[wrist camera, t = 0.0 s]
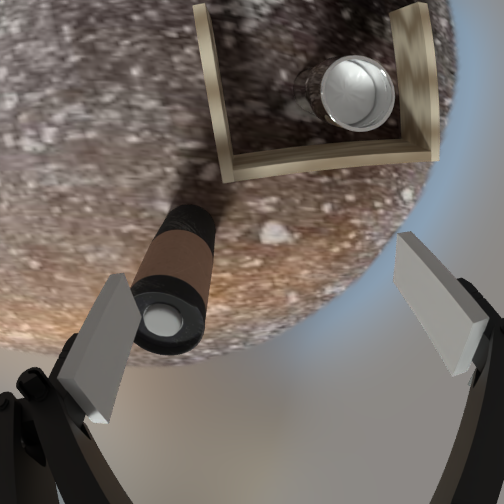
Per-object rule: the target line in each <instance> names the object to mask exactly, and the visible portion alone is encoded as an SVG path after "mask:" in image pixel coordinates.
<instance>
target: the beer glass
mask: <svg viewBox="0 0 504 504" xmlns="http://www.w3.org/2000/svg"><path fill="white" fill-rule="evenodd" d="M293 94H294V97H295V100H296V102H297V103H298V105H299V106H300V107H301V108H303V109H304V110H305V111H307V112H309V113H313V114H315V115H316V116H317V117H318V118H319V119H321V120H322V121H324V122H326V123H328V124H330V125H332V126H335V127H338V128H342V129H347V130H351V131H356V132H365V131H370V130H373V129H375V128H377V127H379V126H380V125H382V124H383V123H384V122H385V121H386V120H387V119H388V117H389V116H390V114H391V112H392V110H393V107H394V102H395V91H394V86H393V83H392V80H391V78H390V76H389V74H388V73H387V72H386V70H385V69H384V68H383V67H382V66H381V65H380V64H378V63H377V62H376V61H374V60H372V59H370V58H368V57H364V56H359V55H350V56H338V57H333V58H329V59H327V60H324V61H322V62H320V63H319V64H317V65H316V66H315V67H314V68H309V69H306V70H304V71H303V72H301V73H300V74H299V75H298V76H297V78H296V80H295V82H294V86H293Z"/></svg>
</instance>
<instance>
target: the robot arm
mask: <svg viewBox="0 0 504 504" xmlns="http://www.w3.org/2000/svg"><path fill="white" fill-rule="evenodd" d="M393 282H394V284H395V285H396V287H397V288H398V289H399V291H400V293H401V294H402V296H403V297H404V299H405V300H406V302H407V303H408V305H409V306H410V308H411V309H412V311H413V312H414V314H415V315H416V317H417V319H418V320H419V321H420V324H421V325H422V327H423V328H424V330H425V332H426V333H427V335H428V336H429V338H430V340H431V341H432V343H433V345H434V346H435V348H436V350H437V351H438V353H439V355H440V357H441V358H442V360H443V362H444V363H445V365H446V367H447V369H448V371H449V372H450V374H451V376H452V377H453V376H455V375H458V374H461V373H464V372H466V371H467V370H468V369H469V366H470V364H471V362H472V361H473V363H474V364H475V366H476V369H475V371H474V373H473V375H472V377H471V379H470V381H469V383H468V385H469V386H470V384H471V387H470V391H469V395H468V399H467V403H466V407H465V410H464V414H463V417H462V420H461V424H460V427H459V430H458V433H457V436H456V439H455V442H454V445H453V448H452V451H451V454H450V457H449V459H448V462H447V464H446V467H445V470H444V472H443V475H442V477H441V480H440V482H439V484H438V486H437V489H436V491H435V493H434V495H433V498H432V500H431V502H430V504H496V503H497V500H498V497H499V494H500V491H501V488H502V484H503V481H504V318H501V317H500V316H499V314H498V313H497V312H496V311H495V310H494V308H493V307H492V306H491V305H490V304H489V303H488V301H487V300H486V299H485V298H483V296H482V295H481V293H479V292H478V290H477V289H476V288H475V287H474V286H473V285H472V283H470V282H468V281H467V280H465V279H463V278H459V279H456V278H455V277H454V276H453V275H452V274H451V273H450V271H449V270H448V269H447V268H446V267H445V266H444V265H443V264H442V263H441V262H440V261H439V260H438V259H437V258H436V256H435V255H434V254H433V253H432V252H431V251H430V250H429V249H428V248H427V247H426V246H425V245H424V244H423V243H422V242H421V241H420V240H419V239H418V238H417V237H416V236H415V235H414V234H413V233H412V232H411V231H410V232H403V233H397V245H396V257H395V267H394V276H393ZM141 318H142V316H141V314H140V312H139V309H138V307H137V305H136V302H135V300H134V297H133V295H132V292H131V290H130V287H129V285H128V282H127V280H126V277H125V275H124V273H119V274H112V275H110V276H109V278H108V280H107V281H106V283H105V285H104V287H103V288H102V290H101V292H100V294H99V296H98V297H97V299H96V301H95V303H94V305H93V307H92V308H91V310H90V312H89V314H88V316H87V318H86V320H85V322H84V324H83V326H82V327H81V329H80V331H79V333H74V334H73V335H72V336H71V337H70V338H69V339H68V340H67V341H66V343H65V345H64V347H63V349H62V352H61V353H60V355H59V359H57V361H56V363H55V365H54V367H53V369H52V372H51V374H50V376H49V378H47V377H46V375H45V374H44V372H43V371H42V370H41V369H40V368H38V367H32V368H30V369H27V370H26V371H25V372H23V373H22V374H21V375H20V377H19V378H18V380H17V383H16V387H17V389H18V390H19V391H20V393H21V394H22V395H23V396H24V397H25V398H21V399H16V398H15V396H14V395H13V394H12V393H11V392H3V393H1V394H0V504H59V500H58V494H57V489H56V485H57V487H58V489H59V492H60V494H61V496H62V498H63V500H64V502H65V504H133V503H132V501H131V500H130V498H129V497H128V496H127V494H126V492H125V491H124V490H123V488H122V486H121V485H120V483H119V482H118V480H117V478H116V477H115V475H114V474H113V472H112V470H111V469H110V467H109V465H108V464H107V462H106V460H105V458H104V457H103V455H102V453H101V452H100V449H99V448H98V446H97V444H96V442H95V440H94V438H93V437H92V435H91V433H90V431H89V429H88V427H87V425H86V424H85V423H84V422H83V421H84V418H85V415H87V416H88V417H89V419H90V420H91V421H92V422H94V423H105V424H109V421H110V417H111V413H112V410H113V406H114V403H115V399H116V396H117V392H118V389H119V386H120V382H121V379H122V375H123V373H124V369H125V366H126V363H127V360H128V357H129V354H130V350H131V347H132V344H133V341H134V338H135V335H136V332H137V329H138V326H139V324H140V321H141ZM55 482H56V483H55Z"/></svg>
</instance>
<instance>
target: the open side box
mask: <svg viewBox="0 0 504 504" xmlns="http://www.w3.org/2000/svg"><path fill="white" fill-rule="evenodd" d="M193 11H194V18H195V24H196V30H197V36H198V42H199V49H200V55H201V61H202V67H203V73H204V79H205V84H206V90H207V96H208V102H209V108H210V114H211V119H212V125H213V131H214V136H215V142H216V148H217V153H218V159H219V164H220V170H221V176H222V181H223V183H229V182H236V181H242V180H249V179H256V178H263V177H270V176H277V175H285V174H293V173H301V172H309V171H318V170H327V169H337V168H347V167H357V166H369V165H381V164H395V163H410V162H429V161H439V147H440V129H439V98H438V82H437V70H436V60H435V51H434V44H433V36H432V30H431V23H430V17H429V12H428V6H427V3H421V2H417V3H414V4H411V5H408V6H406V7H403V8H400V9H398V10H395V11H393V12H390V13H389V17H390V23H391V29H392V36H393V43H394V50H395V58H396V67H397V77H398V88H399V101H400V118H401V139H386V140H367V141H352V142H339V143H328V144H317V145H307V146H298V147H290V148H281V149H273V150H266V151H259V152H252V153H245V154H238V155H234V154H233V148H232V142H231V136H230V130H229V124H228V118H227V112H226V106H225V100H224V94H223V87H222V81H221V75H220V69H219V63H218V57H217V51H216V45H215V39H214V32H213V26H212V20H211V17H210V15H209V12H208V10H207V7H206V5H205V3H203V4H198V5H193Z"/></svg>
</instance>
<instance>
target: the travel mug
mask: <svg viewBox="0 0 504 504" xmlns="http://www.w3.org/2000/svg"><path fill="white" fill-rule="evenodd" d="M214 243H215V224H214V221H213V219H212V217H211V216H210V215H209V213H208V212H207V211H205V210H204V209H202V208H201V207H198V206H195V205H182V206H179V207H177V208H175V209H174V210H172V211H171V212H170V213H169V215H168V216H167V217H166V219H165V220H164V222H163V224H162V225H161V227H160V229H159V231H158V232H157V234H156V236H155V237H154V239H153V241H152V243H151V244H150V246H149V248H148V250H147V253H146V255H145V257H144V259H143V261H142V263H141V265H140V268H139V270H138V272H137V274H136V277H135V279H134V281H133V283H132V285H131V288H130V290H131V292H132V295H133V297H134V300H135V302H136V305H137V307H138V309H139V312H140V314H141V316H142V318H141V321H140V324H139V326H138V329H137V332H136V335H135V338H134V341H133V342H134V343H135V344H137V345H138V346H140V347H141V348H143V349H145V350H147V351H149V352H152V353H156V354H160V355H179V354H183V353H186V352H188V351H190V350H192V349H193V348H194V347H196V346H197V345H198V343H199V342H200V340H201V339H202V336H203V334H204V330H205V319H206V311H207V303H208V296H209V289H210V282H211V274H212V267H213V257H214Z"/></svg>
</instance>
